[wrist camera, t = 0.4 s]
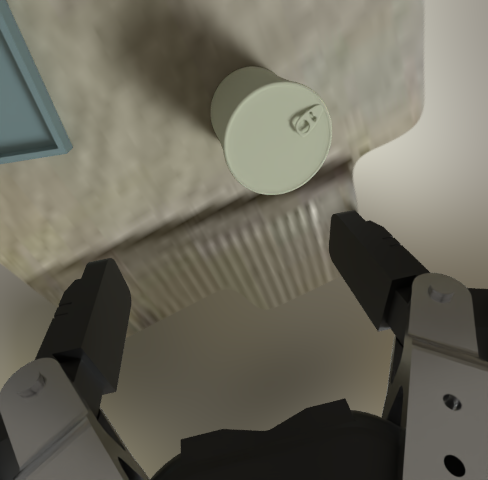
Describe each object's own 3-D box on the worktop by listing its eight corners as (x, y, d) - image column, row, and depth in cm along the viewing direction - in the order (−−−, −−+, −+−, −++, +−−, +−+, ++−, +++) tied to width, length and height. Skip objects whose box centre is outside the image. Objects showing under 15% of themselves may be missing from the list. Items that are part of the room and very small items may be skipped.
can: (305, 115, 34) (354, 147, 24) (247, 168, 37) (270, 216, 27) (256, 44, 29) (294, 49, 20) (192, 111, 32) (198, 145, 22)
